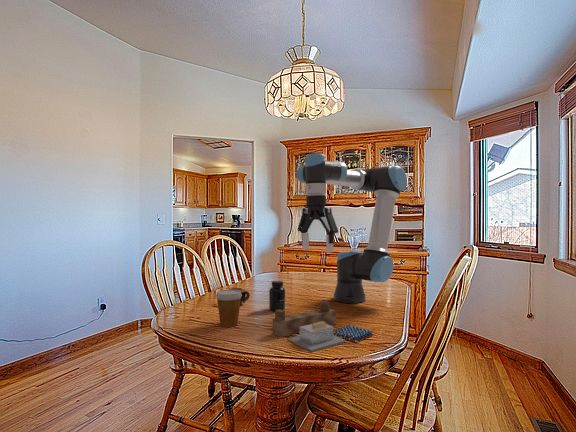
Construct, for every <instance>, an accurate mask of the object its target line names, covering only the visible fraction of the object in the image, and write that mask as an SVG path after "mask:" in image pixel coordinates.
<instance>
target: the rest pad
mask: <svg viewBox="0 0 576 432" xmlns="http://www.w3.org/2000/svg"><path fill="white" fill-rule="evenodd" d="M287 341H289V342H290V343H293V344H295V345H297V346H299V347H301V348H302V349H304V350H307V351H309V352H312V353H314V352H316V351H320V350H323V349H327V348H330V347H334V346H336V345H338V346H339V345H340V344H344V342H345V343H346V342H347V339H343V338H340V337H338V336H334V334H333V339H332V340H328V341H324V342H321V343H317V344H313V345H311V344H308V343H306V342H304V341H302V340H300V335H297V336H293V337H289V338H287Z"/></svg>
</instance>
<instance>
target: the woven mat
mask: <svg viewBox="0 0 576 432" xmlns="http://www.w3.org/2000/svg"><path fill="white" fill-rule="evenodd" d="M333 335H334V336H337V337H339V338H342V339H343V338H344V340H347V339H348V341H351V342H352V341H353V342H354V343H358V342H361V341H363V340H366V339H367V338H369V337H371V336H373V335H374V331H373V330H370V329H366V328H361V327H359V326H357V327H356V326H354V325H350V324H349V325H346V326H343V327H341V328H338V329H335V330H333ZM345 338H346V339H345ZM360 340H361V341H360Z"/></svg>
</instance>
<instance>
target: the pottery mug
mask: <svg viewBox="0 0 576 432" xmlns="http://www.w3.org/2000/svg"><path fill="white" fill-rule="evenodd" d="M229 289H230V288H228V289H227V290H229ZM231 289H233V290H239V291H241V294H242V296H241V300H240V307H241V306H242V304H245V303H246V302H247V301H248V300H249V298H250V297H251V294H250V291H248V290H244V291H243V288H239V287H232V288H231Z"/></svg>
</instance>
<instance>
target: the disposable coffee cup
mask: <svg viewBox="0 0 576 432" xmlns="http://www.w3.org/2000/svg"><path fill="white" fill-rule="evenodd" d="M228 289H229V290H228ZM228 289H222V290H218V291H217V292H216V295H215V298H216V301H217V307H218V317H219V324H220V326H221V327H224V328H231V327H236V326H237V325H238V324H239V315H240V307H241V306H240V300H241V296H242V294H241V291H239V290H233V289H232V288H228Z"/></svg>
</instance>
